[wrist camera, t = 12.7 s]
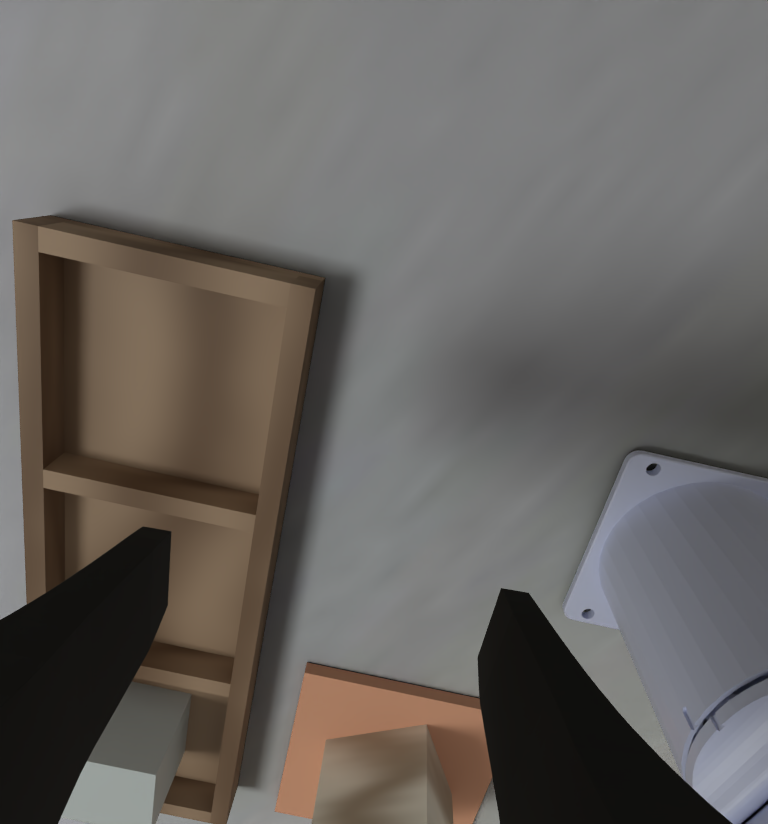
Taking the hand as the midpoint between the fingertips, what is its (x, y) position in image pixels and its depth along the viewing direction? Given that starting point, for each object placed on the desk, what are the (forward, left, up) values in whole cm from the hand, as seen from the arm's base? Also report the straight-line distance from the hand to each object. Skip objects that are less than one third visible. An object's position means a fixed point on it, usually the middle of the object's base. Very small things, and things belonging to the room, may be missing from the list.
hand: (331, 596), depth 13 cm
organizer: (+7, +9, -10) cm, 15 cm away
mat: (-5, +18, -10) cm, 21 cm away
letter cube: (-5, +18, -10) cm, 21 cm away
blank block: (+7, +18, -10) cm, 22 cm away
